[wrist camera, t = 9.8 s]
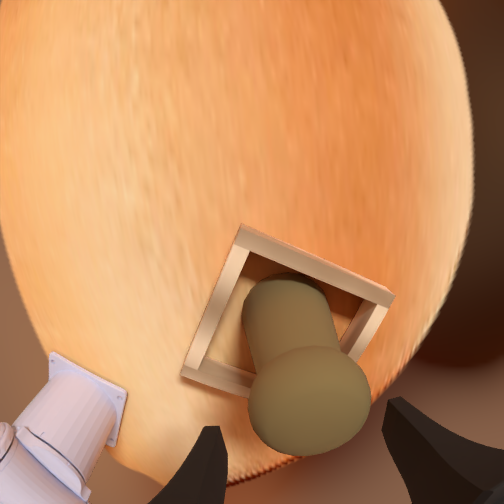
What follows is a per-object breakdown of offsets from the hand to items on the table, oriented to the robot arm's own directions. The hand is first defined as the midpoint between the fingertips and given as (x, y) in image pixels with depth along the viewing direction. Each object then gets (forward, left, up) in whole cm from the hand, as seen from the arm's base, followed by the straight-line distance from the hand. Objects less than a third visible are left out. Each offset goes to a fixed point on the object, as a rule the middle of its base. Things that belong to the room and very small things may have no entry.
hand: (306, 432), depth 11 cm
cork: (+1, 0, -10) cm, 10 cm away
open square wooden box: (0, 0, -10) cm, 10 cm away
